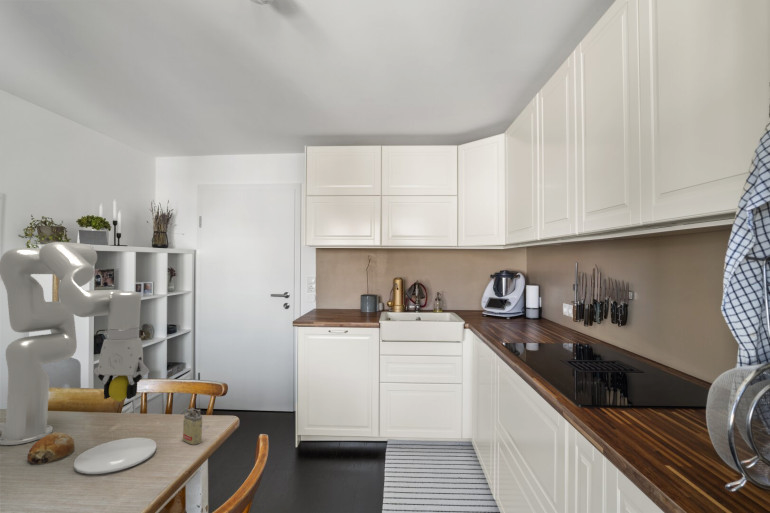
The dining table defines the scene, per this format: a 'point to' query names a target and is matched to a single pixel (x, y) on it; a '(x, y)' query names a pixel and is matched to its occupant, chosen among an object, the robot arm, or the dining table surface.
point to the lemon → (119, 388)
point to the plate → (114, 455)
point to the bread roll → (51, 448)
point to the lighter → (192, 427)
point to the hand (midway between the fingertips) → (120, 396)
